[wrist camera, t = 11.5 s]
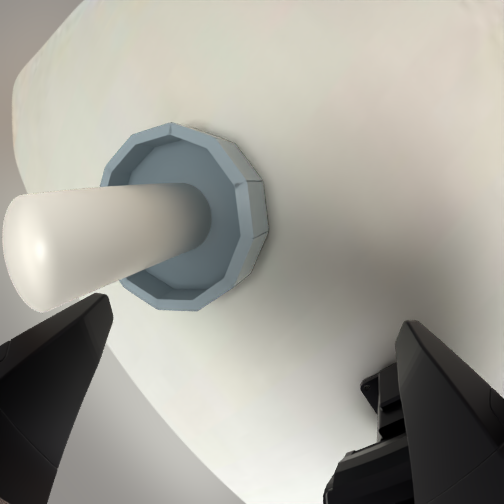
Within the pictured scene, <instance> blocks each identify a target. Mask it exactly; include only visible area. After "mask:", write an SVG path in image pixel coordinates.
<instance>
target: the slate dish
mask: <svg viewBox="0 0 504 504" xmlns="http://www.w3.org/2000/svg"><path fill="white" fill-rule="evenodd" d="M262 181H263V180H262V179H261V178H260V176H259V175H258V174H257V172H256V171H255V169H254V168H253V167H252V165H251V164H250V163H249V161H248V160H247V159H246V157H245V156H244V155H243V153H242V152H241V151H240V149H239V148H238V147H237V145H236V144H235V143H233V142H231V141H228V140H225V139H223V138H220V137H217V136H215V135H212V134H209V133H206V132H203V131H201V130H198V129H195V128H191V127H187V126H184V125H180V124H176V123H172V122H171V123H167V124H164V125H161V126H157V127H154V128H151V129H148V130H145V131H142V132H139V133H136V134H133V135H131V136H130V138H129V139H128V140H127V141H126V142H125V143H124V144H123V146H122V147H121V148H120V149H119V150H118V151H117V153H116V154H115V155H114V156H113V158H112V159H111V160H110V161H109V162H108V164H107V165H106V167H105V169H104V173H103V177H102V180H101V184H100V187H108V186H123V185H140V184H160V183H187V184H190V185H192V186H194V187H196V188H197V189H199V190H200V191H201V192H202V194H203V195H204V196H205V198H206V199H207V201H208V204H209V206H210V210H211V227H210V231H209V233H208V236H207V237H206V239H205V240H204V242H203V243H202V244H201V245H199V246H198V247H197V248H195V249H192V250H190V251H188V252H185V253H183V254H180V255H178V256H175V257H173V258H171V259H168V260H166V261H163V262H161V263H159V264H156V265H154V266H151V267H149V268H147V269H144V270H142V271H139V272H137V273H135V274H132V275H130V276H128V277H125V278H123V279H121V280H119V281H120V282H121V284H122V286H123V287H124V288H125V289H127V290H128V291H130V292H131V293H133V294H134V295H136V296H137V297H139V298H140V299H142V300H143V301H145V302H146V303H148V304H149V305H151V306H153V307H154V308H156V309H158V310H175V311H199V310H200V309H202V308H203V307H205V306H206V305H208V304H209V303H211V302H212V301H214V300H215V299H217V298H218V297H220V296H221V295H223V294H224V293H226V292H227V291H229V290H230V289H232V288H233V287H234V286H236V285H237V284H238V283H239V282H241V281H242V280H243V279H244V278H246V277H247V276H248V275H249V274H250V273H251V272H252V269H253V267H254V265H255V262H256V260H257V258H258V255H259V253H260V251H261V248H262V246H263V244H264V241H265V239H266V236H267V234H268V232H269V231H268V230H269V227H268V218H267V210H266V201H265V193H264V185H263V182H262Z"/></svg>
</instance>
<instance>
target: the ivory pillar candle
mask: <svg viewBox="0 0 504 504" xmlns="http://www.w3.org/2000/svg"><path fill="white" fill-rule="evenodd" d="M210 227H211V210H210V206H209V204H208V201H207V199H206V198H205V196H204V195H203V194H202V192H201V191H200V190H199V189H197V188H196V187H194V186H192V185H190V184H187V183H160V184H140V185H123V186H108V187H94V188H82V189H71V190H61V191H51V192H42V193H33V194H25V195H20V196H17V197H16V198H14V200H12V202H11V203H10V205H9V207H8V209H7V211H6V215H5V218H4V223H3V251H4V257H5V262H6V266H7V270H8V273H9V276H10V278H11V281H12V283H13V285H14V287H15V289H16V291H17V292H18V294H19V296H20V297H21V298H22V300H23V301H24V302H25V303H26V304H27V305H28V306H29V307H30V308H32V309H33V310H35V311H38V312H47V311H49V310H52V309H54V308H56V307H58V306H60V305H63V304H65V303H67V302H70V301H72V300H74V299H76V298H79V297H81V296H83V295H86V294H88V293H90V292H93V291H95V290H97V289H100V288H102V287H104V286H106V285H109V284H111V283H113V282H116V281H118V280H121V279H123V278H125V277H128V276H130V275H132V274H135V273H137V272H139V271H142V270H144V269H147V268H149V267H151V266H154V265H156V264H159V263H161V262H163V261H166V260H168V259H171V258H173V257H175V256H178V255H180V254H183V253H185V252H188V251H190V250H192V249H195V248H197V247H198V246H199V245H201V244H202V243H203V242H204V240H205V239H206V237H207V236H208V233H209V231H210Z"/></svg>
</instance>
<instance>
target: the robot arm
mask: <svg viewBox="0 0 504 504" xmlns="http://www.w3.org/2000/svg"><path fill="white" fill-rule="evenodd" d="M112 323H113V313H112V309H111V305H110V302H109V298H108V296H107V295H106V294H101V293H94V294H92V295H90V296H88V297H86V298H84V299H83V300H81V301H79V302H77V303H75V304H74V305H72V306H70V307H68V308H66V309H64V310H62V311H61V312H59V313H57V314H55V315H54V316H52V317H50V318H48V319H46V320H44V321H43V322H41V323H39V324H37V325H36V326H34V327H32V328H30V329H28V330H27V331H25V332H23V333H21V334H20V335H18V336H16V337H15V338H13V339H11V341H7V342H6V343H4V344H2V345H1V346H0V504H47V502H48V499H49V495H50V492H51V489H52V485H53V482H54V479H55V476H56V473H57V468H58V467H59V464H60V461H61V458H62V455H63V452H64V449H65V446H66V444H67V441H68V438H69V435H70V433H71V430H72V427H73V425H74V422H75V420H76V417H77V414H78V412H79V409H80V407H81V404H82V402H83V399H84V397H85V395H86V392H87V389H88V387H89V385H90V383H91V380H92V378H93V375H94V373H95V371H96V369H97V366H98V364H99V361H100V358H101V356H102V353H103V350H104V346H105V343H106V340H107V337H108V334H109V331H110V329H111V326H112ZM395 349H396V359H397V362H396V363H395V364H393V365H391V366H389V367H387V368H385V369H383V370H381V371H380V372H379V373H378V374H376V375H374V376H372V377H370V378H368V379H366V380H364V381H363V382H362V383H361V387H360V389H361V391H362V393H363V394H364V396H365V397H366V399H367V400H368V402H369V403H370V405H371V406H372V408H373V409H374V410H375V412H376V413H377V415H378V425H377V443H375V444H373V445H370V446H368V447H365V448H363V449H360V450H358V451H355V450H354V451H351V452H348V453H346V455H345V457H344V458H343V459H342V460H341V461H340V462H339V463H338V466H337V468H336V470H335V473H334V475H333V476H332V478H331V479H330V481H329V482H328V484H327V486H326V488H325V491H324V494H323V504H504V398H503V397H502V396H500V395H499V394H498V393H497V392H496V391H495V390H494V389H493V388H491V386H490V385H489V384H488V383H487V382H486V381H485V380H483V379H482V378H481V377H480V376H479V375H478V374H477V373H476V372H475V371H474V370H473V369H472V368H470V367H469V366H468V365H467V364H466V363H465V362H464V361H463V360H462V359H461V358H460V357H458V356H457V355H456V354H455V353H454V352H453V351H452V350H451V349H449V348H448V347H447V346H446V345H445V344H444V343H443V342H442V341H440V340H439V339H438V338H437V337H436V336H435V335H434V334H432V333H431V332H430V331H429V330H428V329H427V328H426V327H424V326H423V325H422V324H421V323H420V322H419V321H416V320H407V321H405V322H404V323H403V325H402V327H401V330H400V332H399V335H398V337H397V340H396V344H395ZM366 385H368V386H370V387H368V388H366V387H364V386H366Z"/></svg>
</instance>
